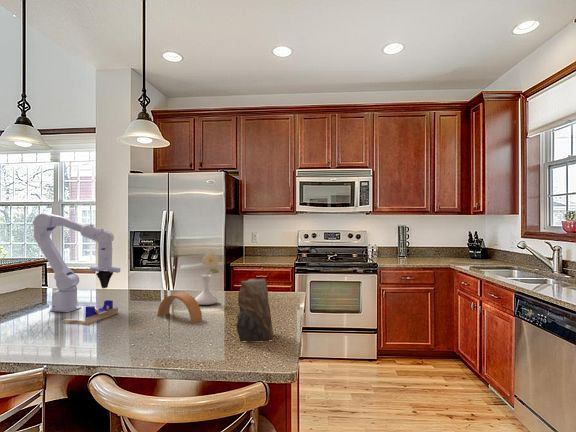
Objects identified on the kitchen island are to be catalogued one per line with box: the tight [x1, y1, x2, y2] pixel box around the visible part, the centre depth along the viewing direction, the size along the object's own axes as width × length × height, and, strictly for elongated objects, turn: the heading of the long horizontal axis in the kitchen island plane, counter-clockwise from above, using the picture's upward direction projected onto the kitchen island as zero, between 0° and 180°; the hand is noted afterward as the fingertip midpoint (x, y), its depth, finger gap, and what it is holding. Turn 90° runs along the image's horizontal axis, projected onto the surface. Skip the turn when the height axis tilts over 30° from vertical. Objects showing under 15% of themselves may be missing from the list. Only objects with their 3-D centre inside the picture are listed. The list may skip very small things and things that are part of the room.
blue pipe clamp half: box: [84, 299, 114, 319], centre depth 150 cm, size 12×4×6 cm, turn 168°
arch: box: [157, 292, 203, 324], centre depth 151 cm, size 6×20×10 cm, turn 59°
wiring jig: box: [62, 306, 119, 325], centre depth 150 cm, size 11×18×4 cm, turn 168°
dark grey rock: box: [236, 277, 274, 342], centre depth 128 cm, size 13×13×20 cm
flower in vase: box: [194, 252, 220, 306], centre depth 175 cm, size 13×11×25 cm
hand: (104, 287), depth 164 cm, fingers closed
